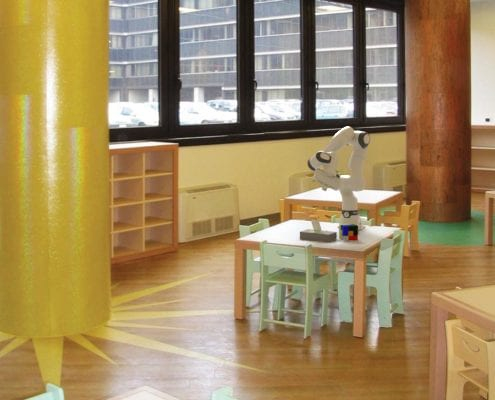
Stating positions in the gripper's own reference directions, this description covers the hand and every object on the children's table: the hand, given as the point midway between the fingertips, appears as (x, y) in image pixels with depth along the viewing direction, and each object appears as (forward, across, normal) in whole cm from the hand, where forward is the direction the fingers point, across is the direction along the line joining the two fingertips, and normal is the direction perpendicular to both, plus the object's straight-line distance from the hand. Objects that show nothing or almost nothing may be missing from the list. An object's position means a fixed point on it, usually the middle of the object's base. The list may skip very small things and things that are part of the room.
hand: (324, 190), depth 574 cm
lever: (+29, +6, +5) cm, 30 cm away
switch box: (+32, +8, +7) cm, 34 cm away
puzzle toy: (+28, +26, -2) cm, 38 cm away
